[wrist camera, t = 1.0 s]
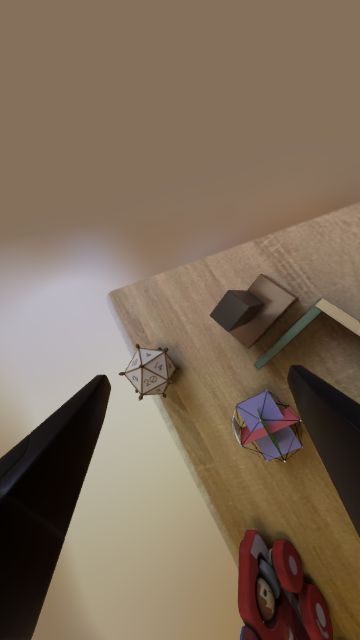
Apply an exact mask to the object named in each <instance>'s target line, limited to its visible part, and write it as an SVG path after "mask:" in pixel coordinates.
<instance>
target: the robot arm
mask: <svg viewBox="0 0 360 640" xmlns="http://www.w3.org/2000/svg"><path fill="white" fill-rule="evenodd" d="M287 381H288V384H289V387H290V390H291V392H292V395H293V398H294V401H295V403H296V406H297V409H298V411H299V414H300V416H301V418H302V420H303V423H304V425H305V427H306V429H307V431H308V433H309V435H310V437H311V439H312V441H313V443H314V445H315V447H316V449H317V451H318V453H319V455H320V457H321V459H322V461H323V464H324V466H325V468H326V470H327V472H328V474H329V476H330V478H331V480H332V482H333V484H334V486H335V488H336V490H337V492H338V494H339V496H340V498H341V500H342V502H343V505H344V507H345V509H346V511H347V513H348V515H349V517H350V519H351V521H352V523H353V525H354V527H355V529H356V531H357V533H358V535H359V537H360V404H359V403H357V402H356V401H354V400H353V399H351V398H350V397H348V396H347V395H345V394H344V393H342V392H341V391H339V390H338V389H336V388H335V387H333V386H332V385H330V384H329V383H327V382H326V381H324V380H323V379H321V378H320V377H318V376H317V375H315V374H314V373H312V372H311V371H309V370H308V369H306V368H305V367H303V366H301V365H292V366H290V369H289V373H288V377H287ZM110 391H111V385H110V383H109V380H108V378H107V376H106V375H97V376H96V377H94V378H93V379H92V380H91V381H90V382H89V383H88V384H86V385H85V386H84V387H83V388H82V389H81V390H79V391H78V392H77V393H76V394H75V395H74V396H73V397H72V398H70V399H69V400H68V401H67V402H66V403H64V404H63V405H62V406H61V407H60V408H59V409H58V410H57V411H55V412H54V413H53V414H52V415H51V416H50V417H48V418H47V419H46V420H45V421H44V422H43V423H41V424H40V425H39V426H38V427H37V428H36V429H34V430H33V431H32V432H31V433H30V434H29V435H27V436H26V437H25V438H24V439H23V440H22V441H21V442H19V444H17V445H16V446H15V447H13V448H12V449H11V450H10V451H9V452H8V453H6V454H5V455H4V456H3V457H1V458H0V640H31V638H32V636H33V633H34V630H35V627H36V624H37V621H38V618H39V615H40V612H41V609H42V606H43V603H44V600H45V597H46V594H47V591H48V588H49V585H50V582H51V579H52V576H53V573H54V570H55V567H56V564H57V561H58V558H59V555H60V552H61V549H62V545H63V543H64V540H65V536H66V533H67V530H68V527H69V524H70V521H71V518H72V515H73V512H74V509H75V506H76V503H77V500H78V497H79V494H80V491H81V488H82V485H83V482H84V479H85V476H86V473H87V470H88V467H89V464H90V461H91V458H92V455H93V452H94V449H95V446H96V443H97V440H98V437H99V434H100V431H101V428H102V425H103V422H104V418H105V414H106V410H107V405H108V400H109V395H110Z"/></svg>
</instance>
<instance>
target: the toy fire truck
mask: <svg viewBox="0 0 360 640" xmlns="http://www.w3.org/2000/svg"><path fill="white" fill-rule="evenodd" d="M293 592H294V593H293ZM295 593H298V595H297V594H295ZM238 608H239V613H240V616H241V618H242V620H243V622H244V624H245V626H243V627H242V630H241V635H240V640H333V630H332V624H331V619H330V616H329V612H328V609H327V606H326V604H325V601H324V599H323V597H322V595H321V593H320V592H319V591H318V589H317V588H316V587H315V586H314V585H312V584H306V583H303V573H302V568H301V564H300V561H299V558H298V555H297V553H296V550H295V549H294V547H293V546H292V544H291V543H290V542H289V541H287V540H283V539H277V540H275V542H274V544H273V548H271V549H268V548H267V546H266V544H265V542H264V541H263V539H262V537H261V535H260V534H259V532H258V531H256V530H247V531H246V532H245V536H244V539H243V540H242V542H241V543H240V547H239V579H238ZM263 621H264V623H263Z"/></svg>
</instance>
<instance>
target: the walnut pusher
mask: <svg viewBox="0 0 360 640" xmlns="http://www.w3.org/2000/svg"><path fill="white" fill-rule="evenodd" d="M297 298H298V297H297V296H295V295H294V294H292V293H291V292H289V291H288V290H286V289H285V288H284V287H282V286H281V285H279V284H278V283H276V282H275V281H273V280H272V279H271V278H269V277H268V276H266V275H263V274H260V275H259V276H258V278H257V279H256V280H255V281H254V283H253V284H252V285H251V286H250V288H249V289H248V290H247V291H243V290H228V291H227V293H226V294H225V295H224V297H223V298H222V299H221V301H220V302H219V303H218V305H217V306H216V307H215V309H214V310H213V311H212V313H211V314H210V316H211V317H212V318H213V319H214V320H215V321H216V322H217V323H219V324H220V325H221V326H222V327H223V328H224V329H225V330H226V331H227V332H229V333H231V334H232V335H233V336H234V337H235V338H236V339H237V340H238V341H240V342H241V343H242V344H243V345H244V346H245V347H246V348H247V349H249V348H250V347H251V346H252V345H253V344H254V343H255V342H256V341H257V340H258V339H259V338H260V337H261V336H262V335H263V334H264V333H265V332H266V331H267V330H268V329H269V328H270V327H271V326H272V325H273V323H274V322H275V321H276V320H277V319H278V318H279V317H280V316H281V315H282V314H283V313H284V312H285V311H286V310H287V309H288V308H289V307H290V306H291V305H292V304H293V303H294V302H295V300H296V299H297Z"/></svg>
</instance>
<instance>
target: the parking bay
mask: <svg viewBox="0 0 360 640" xmlns="http://www.w3.org/2000/svg"><path fill="white" fill-rule="evenodd" d="M322 311H323V312H325V313H326V314H328V315H329V316H331V317H332V318H334V319H335V320H337V321H338V322H339V323H341V324H342V325H344V326H345V327H347V328H348V329H350V330H351V331H353V332H354V333H356V334H357V335H358V336H360V322H358V321H357V320H355V319H354V318H352V317H351V316H349V315H348V314H346V313H345V312H343V311H342V310H340V309H338V308H337V307H335V306H334V305H332V304H331V303H329V302H328V301H326V300H325V299H323V298H320V299H319V300H318V301H317V302H316V303H315V304H314V305H313V306H312V307H311V308H310V309H309V310H308V311H307V312H306V313H305V314H304V315H303V316H302V317H301V318H300V319H299V320H298V321H297V322H296V323H295V324H294V325H293V326H292V327H291V328H289V329H288V330H287V331H286V332H285V333H284V334H283V335H282V336H281V337H280V338H279V339H278V340H277V341H276V342H275V343H274V344H273V345H272V346H271V347H270V348H269V349H268V350H267V351H266V352H265V353H264V354H263V355H262V356H261V357H260V358H259V359H258V360H257V361H256V363H255V364H254V366H255V367H256V368H257V369H258V370H260V369H261V368H262V367H263V366H264V365H265V364H266V363H267V362H268V361H269V360H271V359H272V358H273V357H274V356H275V355H276V354H277V353H278V352H279V351H280V350H281V349H282V348H283V347H284V346H285V345H287V344H288V343H289V342H290V341H291V340H292V339H293V338H294V337H295V336H296V335H297V334H298V333H299V332H300V331H301V330H303V329H304V328H305V327H306V326H307V325H308V324H309V323H310V322H311V321H312V320H313V319H314V318H315V317H316V316H318V315H319V314H320V313H321V312H322Z"/></svg>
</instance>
